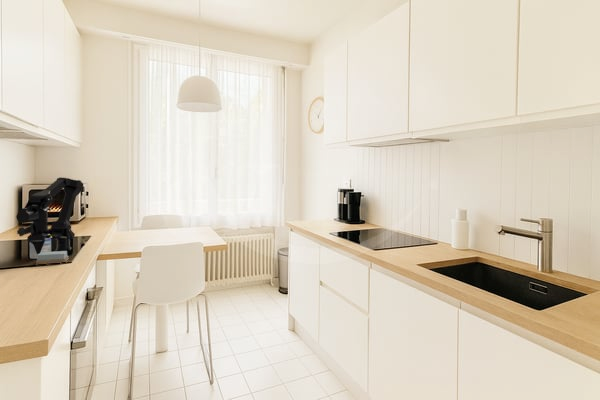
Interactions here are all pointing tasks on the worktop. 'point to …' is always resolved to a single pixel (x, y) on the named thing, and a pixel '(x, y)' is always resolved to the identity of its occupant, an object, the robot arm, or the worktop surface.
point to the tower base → (51, 261)
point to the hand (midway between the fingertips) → (40, 251)
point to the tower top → (52, 255)
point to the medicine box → (45, 249)
